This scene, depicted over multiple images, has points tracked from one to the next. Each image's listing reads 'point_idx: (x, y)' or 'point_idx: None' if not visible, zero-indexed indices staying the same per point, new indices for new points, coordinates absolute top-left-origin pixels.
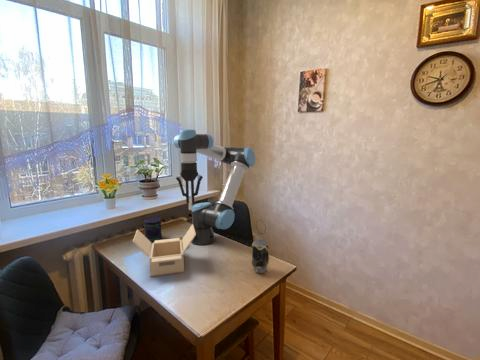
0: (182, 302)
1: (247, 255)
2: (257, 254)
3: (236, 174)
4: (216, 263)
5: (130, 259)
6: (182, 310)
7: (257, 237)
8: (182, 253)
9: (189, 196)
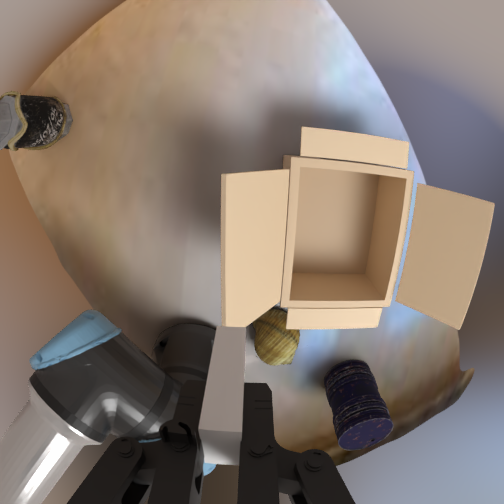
0: (299, 11)
1: (68, 213)
2: (33, 98)
3: None
4: (165, 183)
5: None
6: None
7: None
8: (293, 168)
9: (229, 455)
